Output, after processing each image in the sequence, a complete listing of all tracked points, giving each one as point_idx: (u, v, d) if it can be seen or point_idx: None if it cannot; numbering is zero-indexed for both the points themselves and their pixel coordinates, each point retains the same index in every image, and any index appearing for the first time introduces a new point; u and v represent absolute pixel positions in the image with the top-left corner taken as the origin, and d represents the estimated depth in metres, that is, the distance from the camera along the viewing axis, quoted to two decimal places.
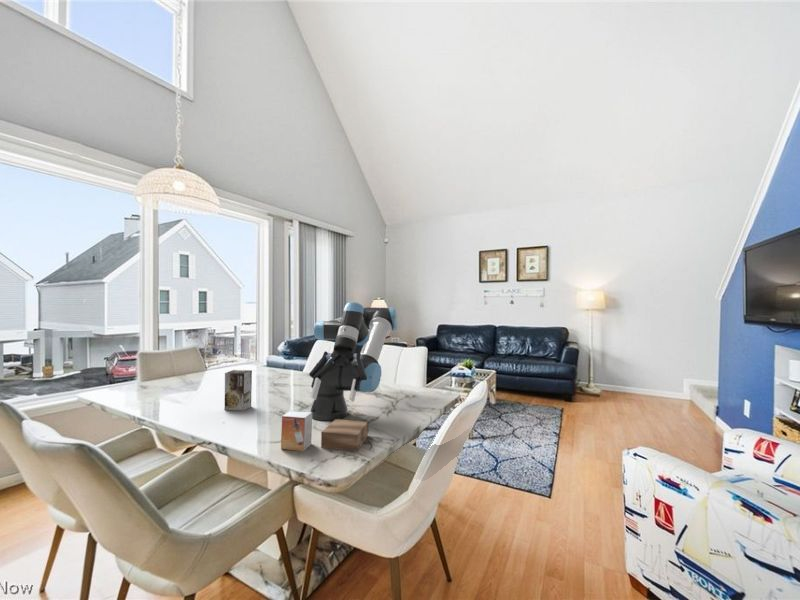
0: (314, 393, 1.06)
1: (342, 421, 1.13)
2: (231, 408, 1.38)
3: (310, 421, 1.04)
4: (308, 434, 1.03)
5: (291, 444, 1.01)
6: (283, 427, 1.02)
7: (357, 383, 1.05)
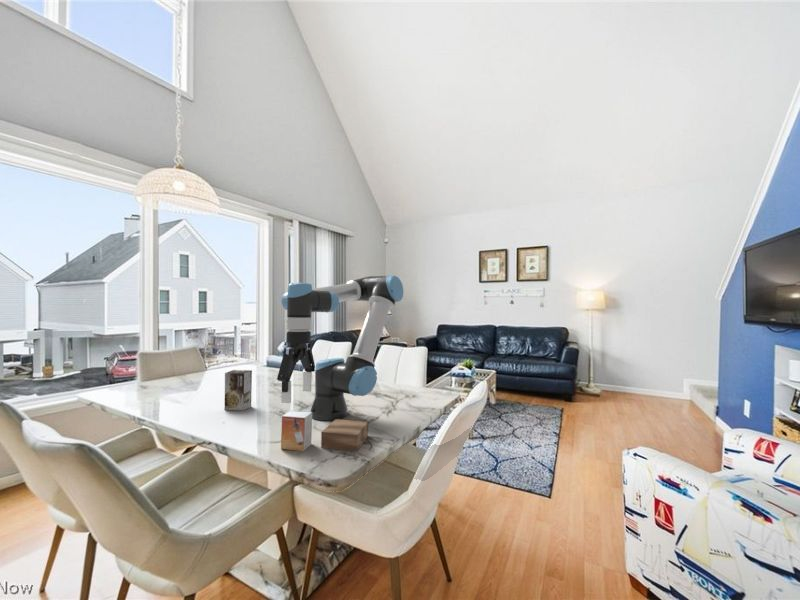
0: (304, 387, 1.10)
1: (342, 421, 1.13)
2: (231, 408, 1.38)
3: (310, 421, 1.04)
4: (308, 434, 1.03)
5: (291, 444, 1.01)
6: (283, 427, 1.02)
7: None
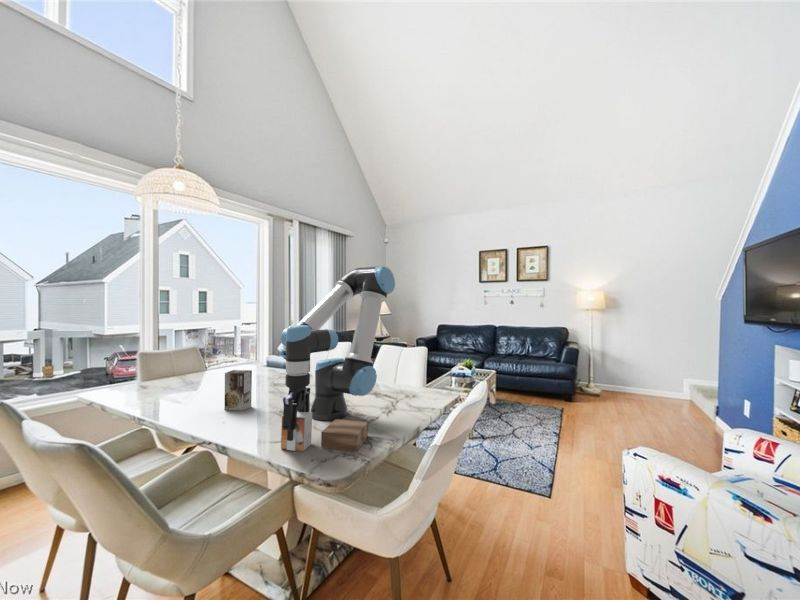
0: None
1: (342, 421, 1.13)
2: (231, 408, 1.38)
3: (310, 421, 1.04)
4: (308, 433, 1.03)
5: None
6: None
7: None
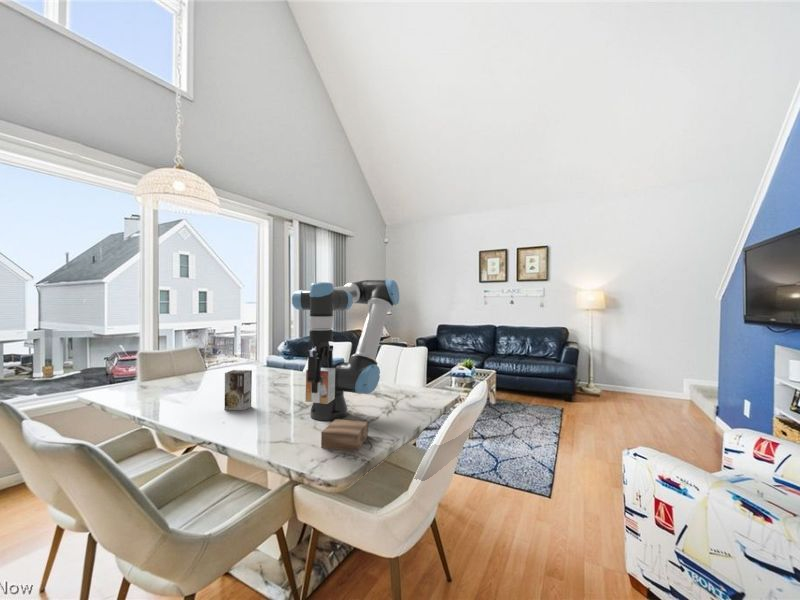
0: None
1: (342, 421, 1.13)
2: (231, 408, 1.38)
3: (333, 376, 1.07)
4: (331, 388, 1.05)
5: None
6: (307, 380, 1.04)
7: None
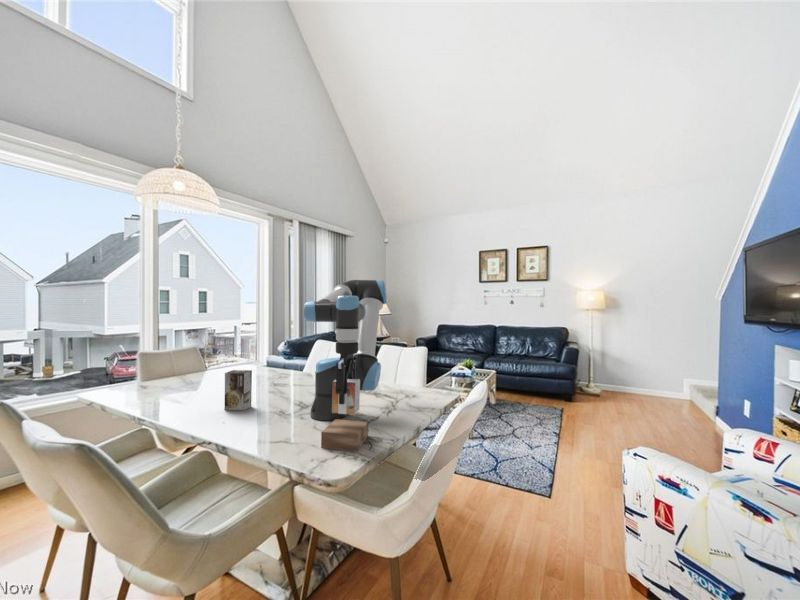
0: None
1: (342, 421, 1.13)
2: (231, 408, 1.38)
3: (358, 387, 1.09)
4: (357, 399, 1.08)
5: None
6: (334, 392, 1.06)
7: None
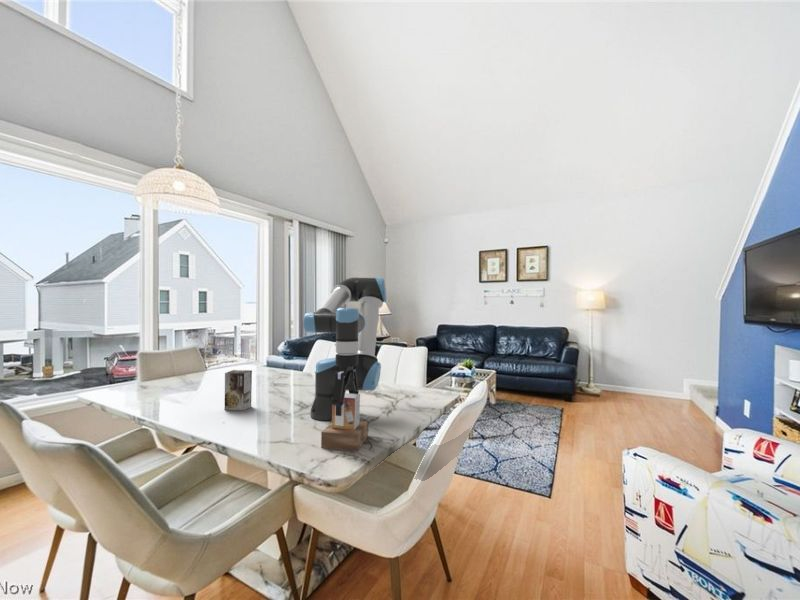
0: None
1: None
2: (231, 408, 1.38)
3: (358, 402, 1.09)
4: (357, 414, 1.08)
5: None
6: (334, 407, 1.06)
7: None
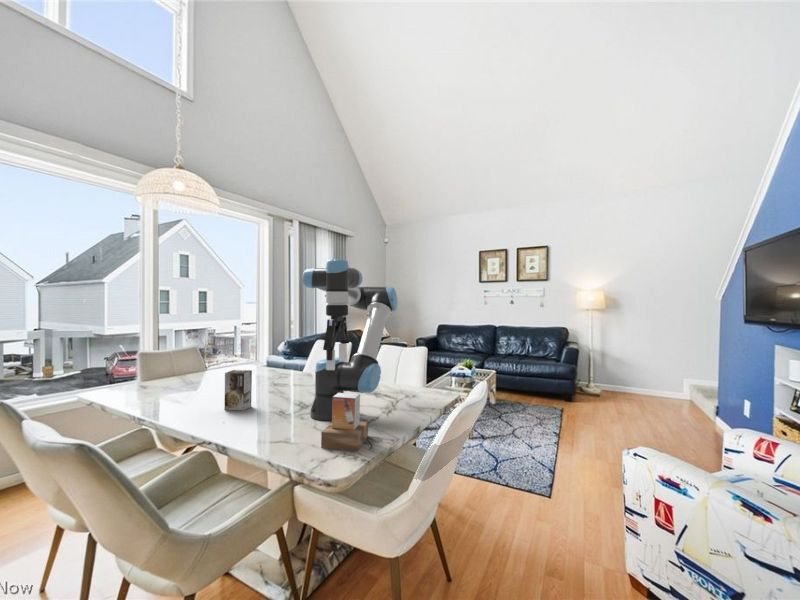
0: (340, 357, 1.18)
1: None
2: (231, 408, 1.38)
3: (358, 402, 1.09)
4: (357, 414, 1.08)
5: (341, 423, 1.06)
6: (334, 407, 1.06)
7: None
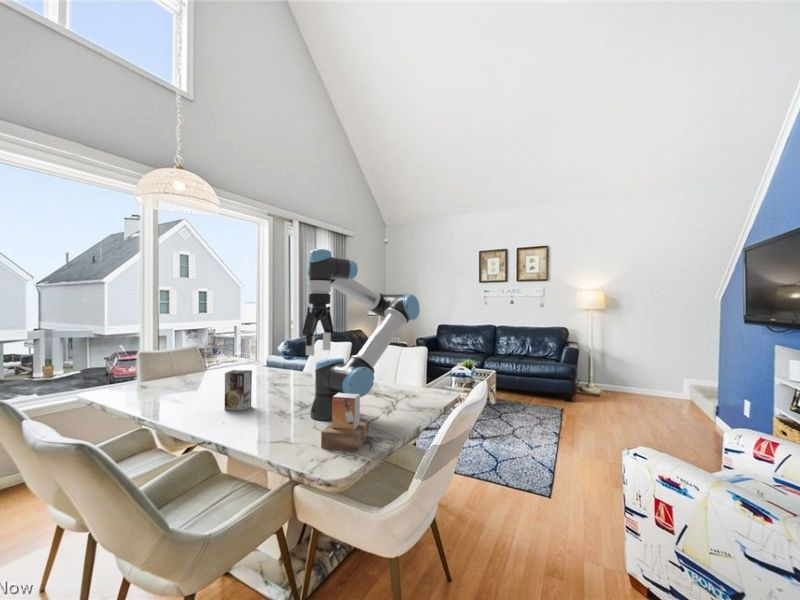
0: (324, 346, 1.21)
1: None
2: (231, 408, 1.38)
3: (358, 402, 1.09)
4: (357, 414, 1.08)
5: (341, 423, 1.06)
6: (334, 407, 1.06)
7: None
